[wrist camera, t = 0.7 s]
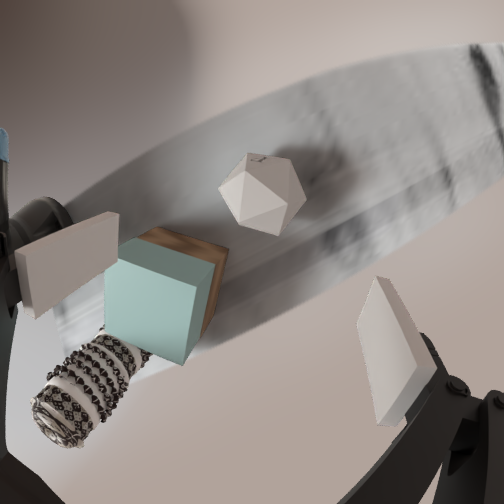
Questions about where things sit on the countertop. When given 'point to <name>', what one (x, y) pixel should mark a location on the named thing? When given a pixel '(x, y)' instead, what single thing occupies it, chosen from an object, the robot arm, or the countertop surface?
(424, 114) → the countertop surface
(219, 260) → the tower base
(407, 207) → the countertop surface
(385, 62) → the countertop surface
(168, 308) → the tower top
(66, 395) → the decorative candle
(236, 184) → the die
